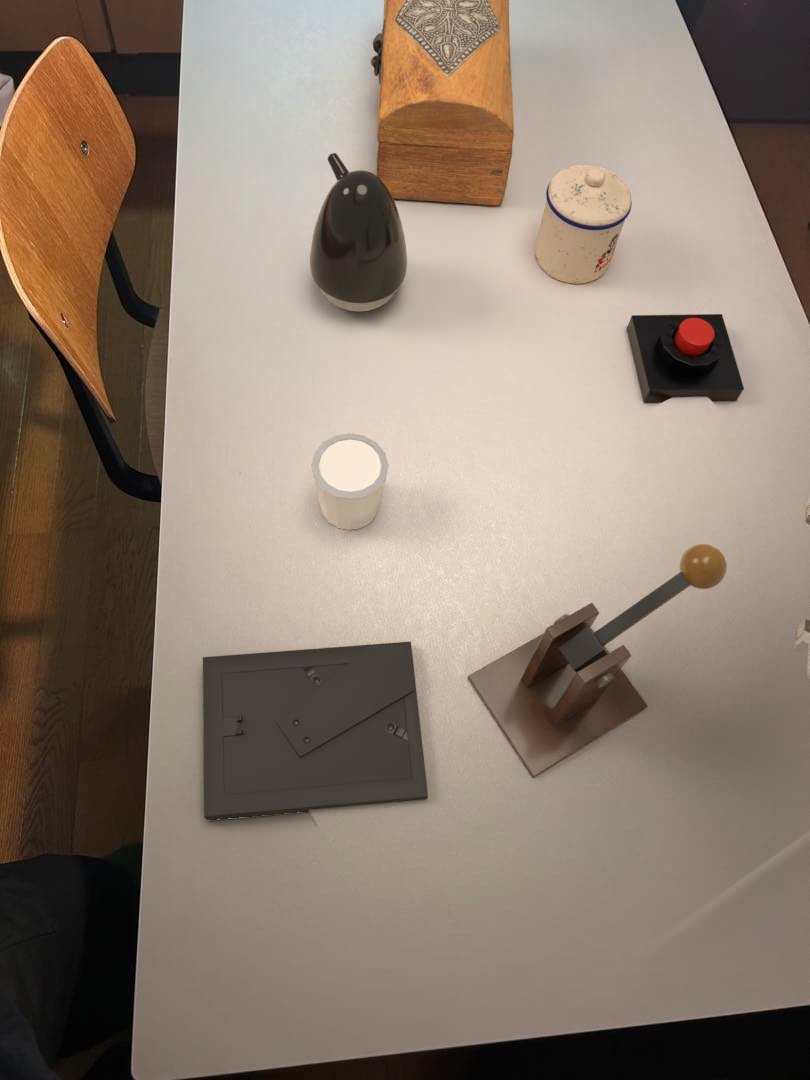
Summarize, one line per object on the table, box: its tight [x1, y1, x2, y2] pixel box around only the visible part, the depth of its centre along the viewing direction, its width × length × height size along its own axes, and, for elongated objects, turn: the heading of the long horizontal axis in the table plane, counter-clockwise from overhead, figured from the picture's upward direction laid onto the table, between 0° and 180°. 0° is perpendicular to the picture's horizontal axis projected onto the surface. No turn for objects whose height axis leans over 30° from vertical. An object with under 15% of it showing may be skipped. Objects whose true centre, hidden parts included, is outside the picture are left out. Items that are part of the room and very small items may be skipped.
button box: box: [626, 313, 745, 404], centre depth 98 cm, size 10×10×4 cm
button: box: [674, 318, 714, 356], centre depth 96 cm, size 4×4×2 cm
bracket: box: [467, 602, 648, 779], centre depth 76 cm, size 12×10×13 cm
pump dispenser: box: [309, 152, 408, 312], centre depth 95 cm, size 10×10×15 cm
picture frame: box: [202, 641, 429, 821], centre depth 78 cm, size 13×2×18 cm
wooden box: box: [370, 0, 515, 206], centre depth 110 cm, size 30×16×14 cm, turn 178°
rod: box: [558, 543, 728, 672], centre depth 71 cm, size 14×3×3 cm, turn 121°
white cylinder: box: [311, 433, 389, 531], centre depth 86 cm, size 7×7×7 cm
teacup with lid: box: [534, 164, 633, 284], centre depth 102 cm, size 12×9×12 cm
